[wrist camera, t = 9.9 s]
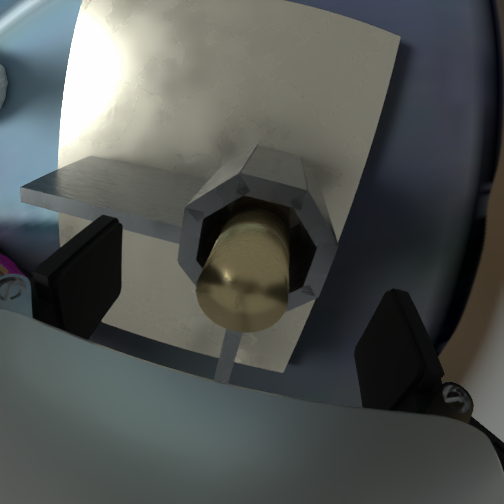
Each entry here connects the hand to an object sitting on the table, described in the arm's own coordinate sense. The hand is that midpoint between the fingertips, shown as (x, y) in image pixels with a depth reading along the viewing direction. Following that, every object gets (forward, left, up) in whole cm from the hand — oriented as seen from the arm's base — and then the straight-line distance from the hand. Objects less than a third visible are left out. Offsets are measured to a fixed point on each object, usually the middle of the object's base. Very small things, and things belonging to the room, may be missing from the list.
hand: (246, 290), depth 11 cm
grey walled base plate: (-1, +5, -11) cm, 12 cm away
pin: (0, 0, -10) cm, 10 cm away
